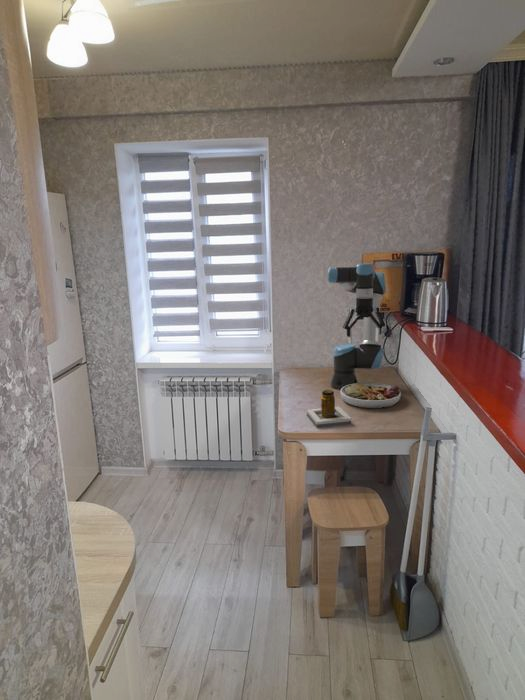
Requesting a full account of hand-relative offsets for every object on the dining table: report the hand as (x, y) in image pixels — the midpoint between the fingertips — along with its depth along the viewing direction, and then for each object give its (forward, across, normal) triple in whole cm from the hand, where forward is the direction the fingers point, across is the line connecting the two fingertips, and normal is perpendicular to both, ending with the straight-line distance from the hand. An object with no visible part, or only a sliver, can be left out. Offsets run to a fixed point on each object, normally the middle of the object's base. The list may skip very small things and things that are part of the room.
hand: (363, 342), depth 221 cm
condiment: (+31, -20, -10) cm, 39 cm away
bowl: (+33, +8, +10) cm, 36 cm away
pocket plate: (+33, -21, -10) cm, 40 cm away
